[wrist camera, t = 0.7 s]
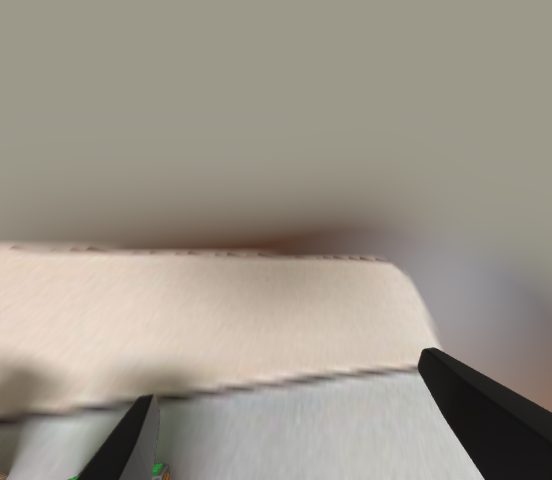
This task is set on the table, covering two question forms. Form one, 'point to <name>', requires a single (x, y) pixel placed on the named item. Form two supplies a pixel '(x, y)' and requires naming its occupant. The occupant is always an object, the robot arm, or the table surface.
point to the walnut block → (3, 476)
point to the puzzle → (154, 472)
